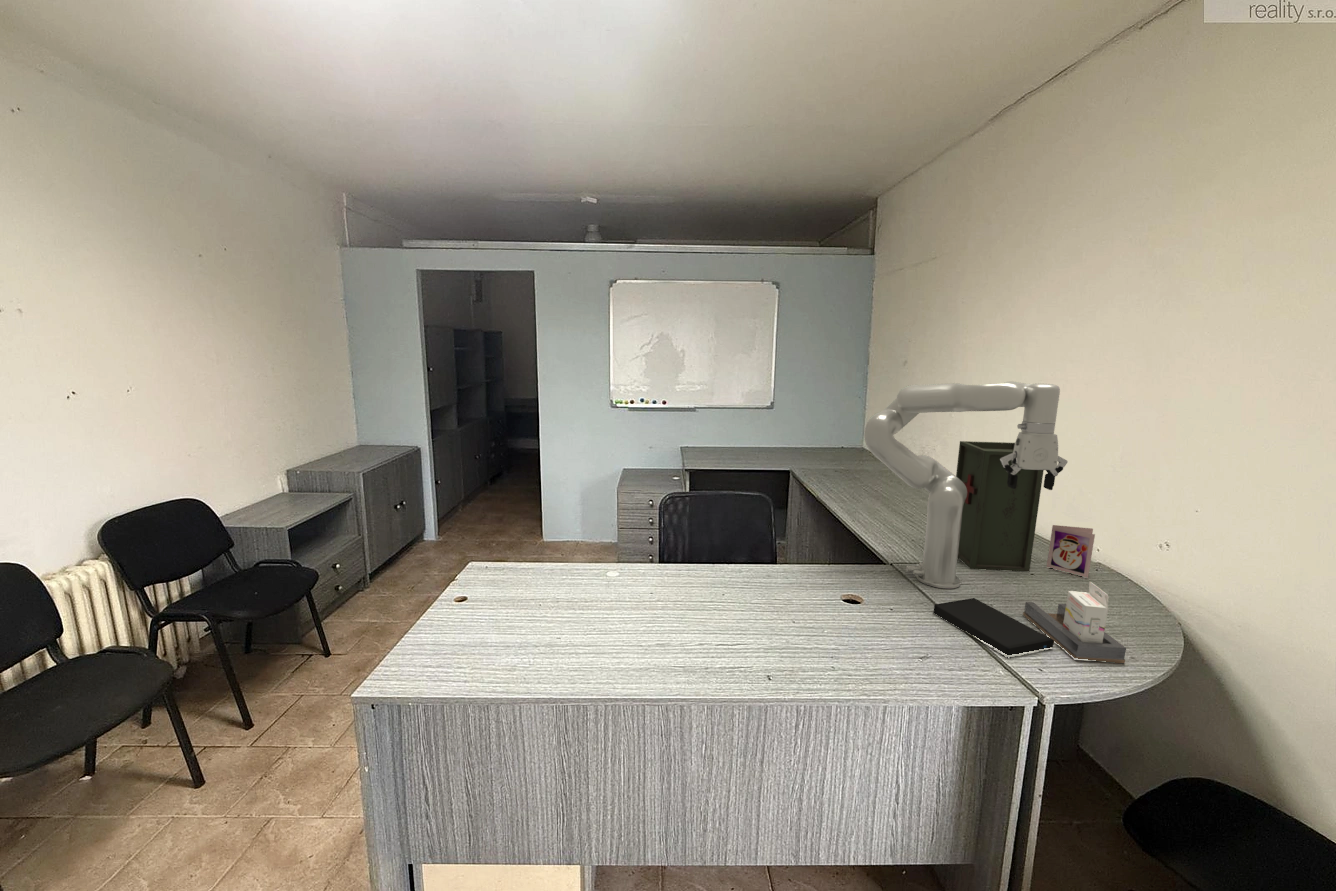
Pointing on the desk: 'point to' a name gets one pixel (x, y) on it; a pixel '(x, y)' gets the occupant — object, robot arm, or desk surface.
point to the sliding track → (1073, 636)
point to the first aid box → (996, 509)
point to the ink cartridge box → (1086, 614)
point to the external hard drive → (992, 626)
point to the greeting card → (1071, 549)
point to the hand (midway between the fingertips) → (1029, 488)
